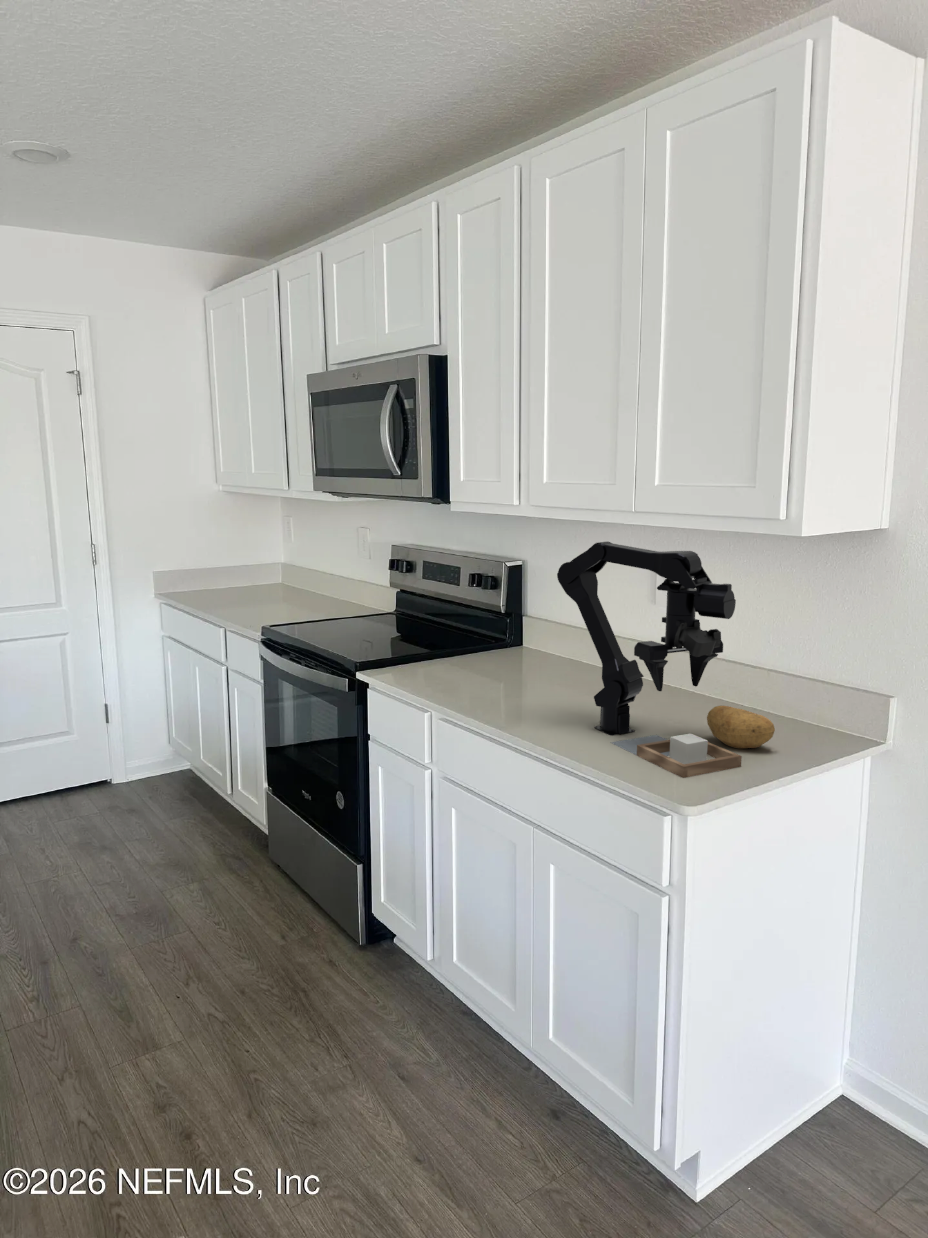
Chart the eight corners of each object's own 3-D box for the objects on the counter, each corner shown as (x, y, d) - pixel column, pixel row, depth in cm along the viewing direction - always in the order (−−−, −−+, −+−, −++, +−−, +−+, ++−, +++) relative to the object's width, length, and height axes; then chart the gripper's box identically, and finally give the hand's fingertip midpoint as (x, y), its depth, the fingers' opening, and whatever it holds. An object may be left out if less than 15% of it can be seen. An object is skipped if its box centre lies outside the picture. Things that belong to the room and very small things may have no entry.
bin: (636, 757, 172) (637, 745, 171) (692, 747, 178) (692, 735, 177) (682, 779, 159) (683, 766, 159) (740, 768, 165) (741, 756, 165)
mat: (610, 744, 180) (610, 742, 180) (656, 736, 185) (656, 734, 185) (645, 761, 169) (646, 759, 169) (694, 753, 174) (694, 751, 174)
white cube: (669, 761, 170) (670, 736, 169) (689, 757, 172) (690, 733, 171) (686, 769, 165) (687, 744, 165) (706, 765, 168) (707, 740, 167)
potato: (758, 761, 170) (761, 721, 168) (696, 744, 180) (698, 707, 179) (783, 750, 176) (785, 712, 175) (721, 734, 187) (723, 698, 185)
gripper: (669, 623, 164) (666, 703, 166) (744, 616, 172) (740, 692, 174) (633, 614, 174) (631, 690, 176) (706, 608, 182) (702, 680, 184)
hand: (677, 688), depth 178 cm, fingers open, 9 cm apart
